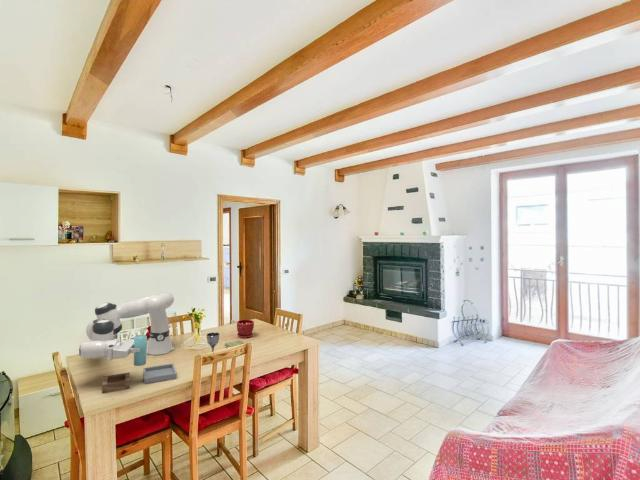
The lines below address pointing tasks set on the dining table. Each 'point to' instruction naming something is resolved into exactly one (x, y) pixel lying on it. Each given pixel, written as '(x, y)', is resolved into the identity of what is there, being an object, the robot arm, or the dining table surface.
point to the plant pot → (245, 328)
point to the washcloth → (233, 343)
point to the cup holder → (116, 382)
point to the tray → (159, 373)
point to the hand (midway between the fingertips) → (142, 347)
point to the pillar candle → (140, 356)
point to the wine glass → (212, 339)
